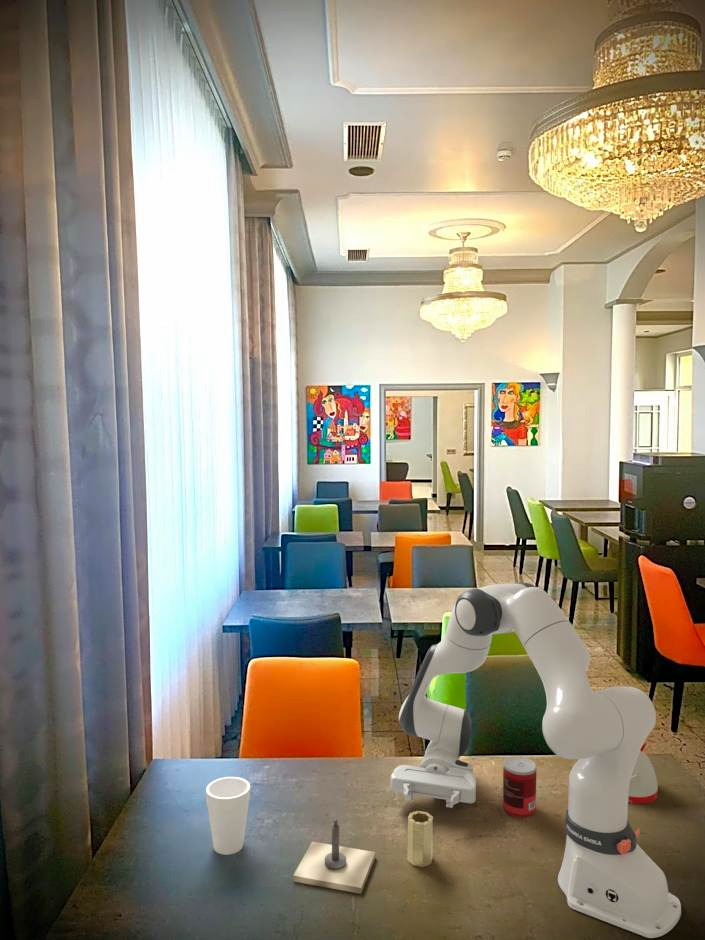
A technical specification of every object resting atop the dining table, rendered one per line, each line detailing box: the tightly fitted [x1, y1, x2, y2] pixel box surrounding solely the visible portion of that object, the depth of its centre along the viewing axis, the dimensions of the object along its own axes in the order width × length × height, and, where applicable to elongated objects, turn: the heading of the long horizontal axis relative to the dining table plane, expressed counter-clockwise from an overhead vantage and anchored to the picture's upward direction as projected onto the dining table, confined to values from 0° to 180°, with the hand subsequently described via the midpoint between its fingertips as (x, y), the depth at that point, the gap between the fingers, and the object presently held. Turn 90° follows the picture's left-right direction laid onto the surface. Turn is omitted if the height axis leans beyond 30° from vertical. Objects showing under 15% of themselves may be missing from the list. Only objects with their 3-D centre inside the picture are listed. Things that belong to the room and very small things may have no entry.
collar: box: [406, 810, 434, 868], centre depth 148 cm, size 5×5×9 cm
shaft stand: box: [292, 818, 376, 895], centre depth 144 cm, size 14×12×10 cm
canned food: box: [502, 756, 537, 819], centre depth 167 cm, size 8×8×11 cm
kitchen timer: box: [628, 741, 659, 804], centre depth 177 cm, size 14×14×15 cm
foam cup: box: [205, 776, 251, 856], centre depth 152 cm, size 10×9×13 cm
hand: (428, 801), depth 160 cm, fingers open, 8 cm apart
